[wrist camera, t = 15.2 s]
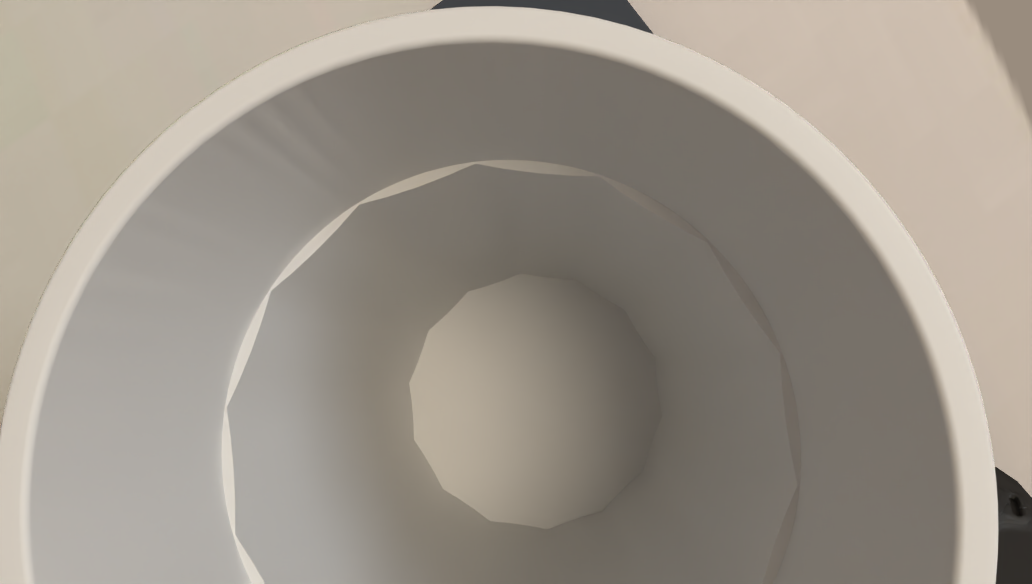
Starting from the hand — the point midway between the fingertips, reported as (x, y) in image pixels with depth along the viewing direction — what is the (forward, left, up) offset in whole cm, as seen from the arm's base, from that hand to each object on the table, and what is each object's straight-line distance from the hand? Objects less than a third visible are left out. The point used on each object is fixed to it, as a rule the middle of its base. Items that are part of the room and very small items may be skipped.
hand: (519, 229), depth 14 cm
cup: (+3, -2, -4) cm, 5 cm away
